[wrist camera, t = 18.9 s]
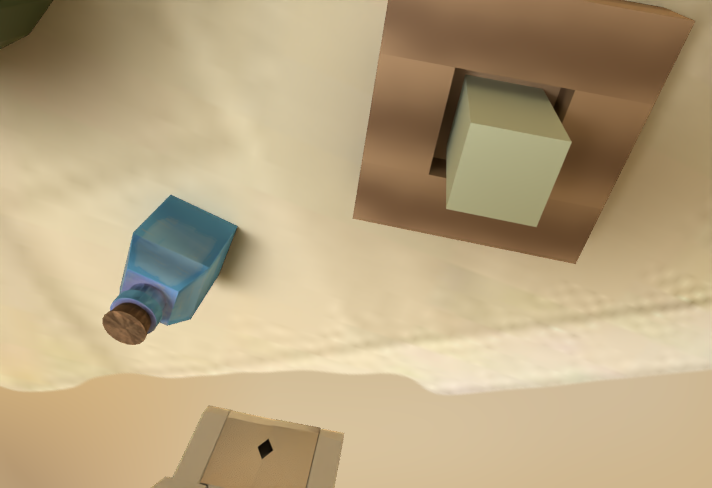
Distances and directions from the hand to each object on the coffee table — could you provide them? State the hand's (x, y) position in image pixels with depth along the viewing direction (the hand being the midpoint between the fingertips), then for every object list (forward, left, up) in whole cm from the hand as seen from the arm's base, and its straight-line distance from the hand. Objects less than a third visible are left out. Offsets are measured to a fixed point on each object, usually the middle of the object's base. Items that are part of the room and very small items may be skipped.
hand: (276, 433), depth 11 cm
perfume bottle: (+17, -15, -29) cm, 37 cm away
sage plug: (+1, +7, -27) cm, 28 cm away
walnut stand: (+1, +7, -29) cm, 29 cm away
